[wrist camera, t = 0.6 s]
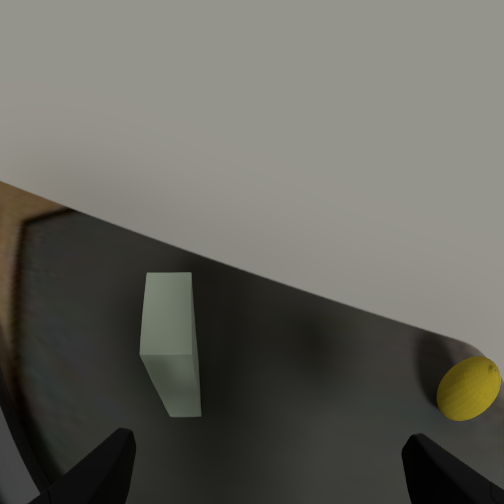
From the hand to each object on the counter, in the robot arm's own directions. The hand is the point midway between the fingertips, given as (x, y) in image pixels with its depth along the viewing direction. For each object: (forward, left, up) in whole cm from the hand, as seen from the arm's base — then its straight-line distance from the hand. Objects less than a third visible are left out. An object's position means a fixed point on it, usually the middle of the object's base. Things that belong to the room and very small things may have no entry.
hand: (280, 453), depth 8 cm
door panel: (+6, +7, -16) cm, 18 cm away
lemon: (+11, -17, -16) cm, 26 cm away
